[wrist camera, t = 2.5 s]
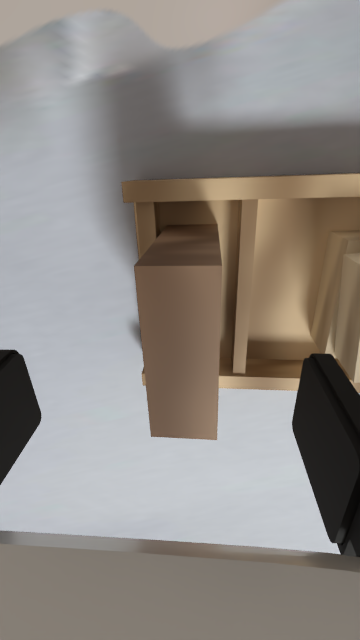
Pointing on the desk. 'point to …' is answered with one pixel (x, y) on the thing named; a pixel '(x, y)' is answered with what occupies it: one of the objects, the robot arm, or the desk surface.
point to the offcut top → (349, 317)
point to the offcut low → (332, 288)
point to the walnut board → (181, 330)
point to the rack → (258, 260)
